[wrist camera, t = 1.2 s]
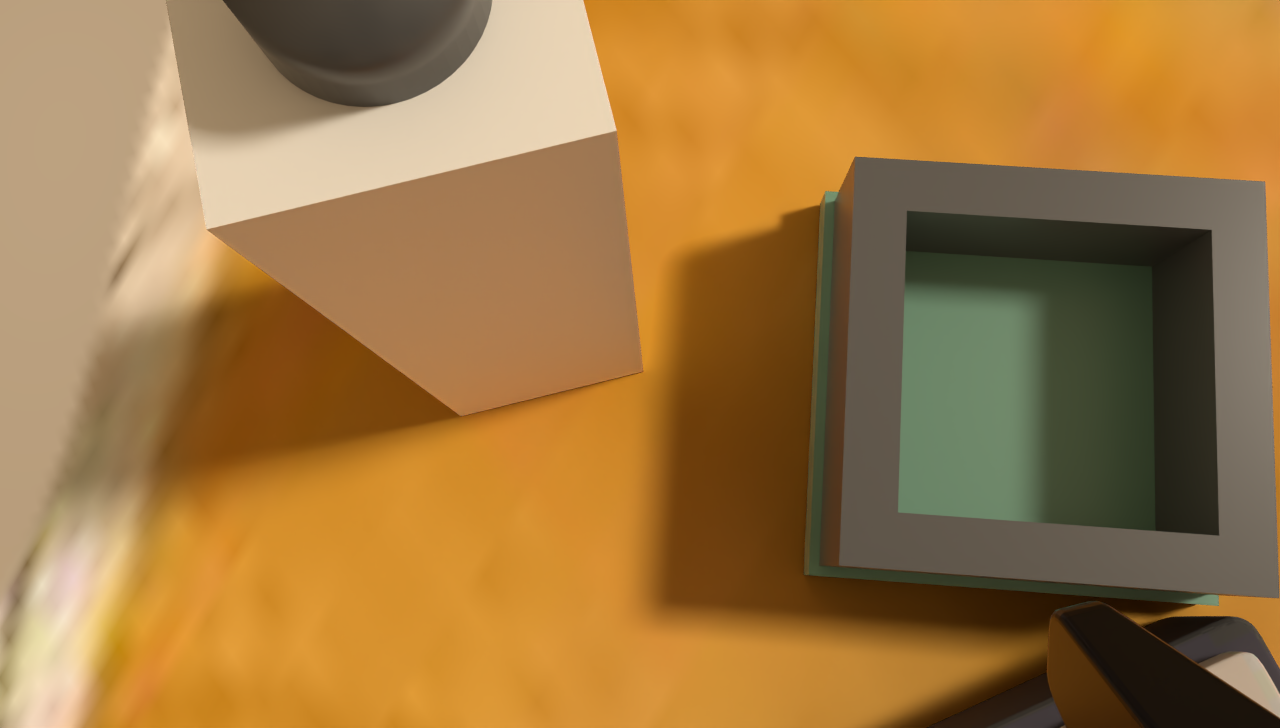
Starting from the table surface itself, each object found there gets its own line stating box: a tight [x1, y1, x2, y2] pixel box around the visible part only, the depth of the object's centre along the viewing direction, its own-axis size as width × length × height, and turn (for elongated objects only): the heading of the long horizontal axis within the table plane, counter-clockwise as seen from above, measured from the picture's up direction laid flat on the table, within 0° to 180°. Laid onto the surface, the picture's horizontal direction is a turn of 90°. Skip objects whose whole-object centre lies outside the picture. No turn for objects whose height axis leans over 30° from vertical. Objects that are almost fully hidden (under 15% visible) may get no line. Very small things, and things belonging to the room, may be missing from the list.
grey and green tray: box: [804, 157, 1279, 606], centre depth 21 cm, size 8×8×3 cm
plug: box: [166, 0, 643, 416], centre depth 16 cm, size 4×4×14 cm
